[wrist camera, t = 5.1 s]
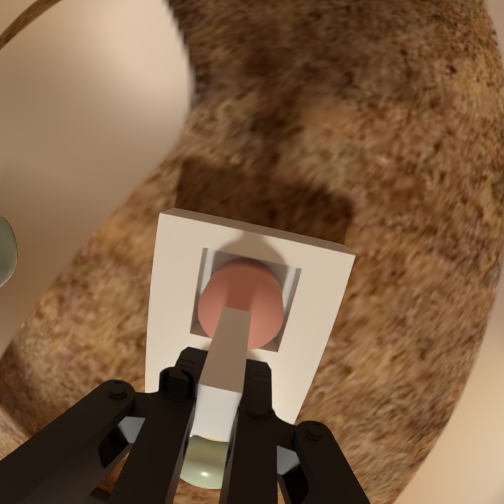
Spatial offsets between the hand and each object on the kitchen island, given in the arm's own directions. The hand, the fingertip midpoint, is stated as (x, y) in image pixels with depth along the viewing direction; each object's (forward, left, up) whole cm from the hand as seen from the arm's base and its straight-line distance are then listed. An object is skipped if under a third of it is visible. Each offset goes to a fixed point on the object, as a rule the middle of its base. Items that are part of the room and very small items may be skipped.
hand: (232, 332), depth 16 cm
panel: (0, -8, -6) cm, 10 cm away
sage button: (0, -16, -4) cm, 16 cm away
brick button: (0, 0, -5) cm, 5 cm away
